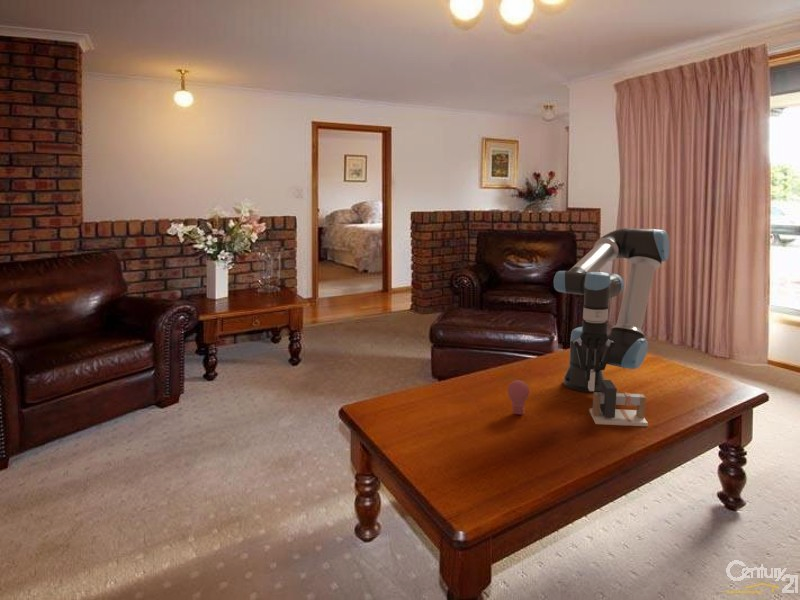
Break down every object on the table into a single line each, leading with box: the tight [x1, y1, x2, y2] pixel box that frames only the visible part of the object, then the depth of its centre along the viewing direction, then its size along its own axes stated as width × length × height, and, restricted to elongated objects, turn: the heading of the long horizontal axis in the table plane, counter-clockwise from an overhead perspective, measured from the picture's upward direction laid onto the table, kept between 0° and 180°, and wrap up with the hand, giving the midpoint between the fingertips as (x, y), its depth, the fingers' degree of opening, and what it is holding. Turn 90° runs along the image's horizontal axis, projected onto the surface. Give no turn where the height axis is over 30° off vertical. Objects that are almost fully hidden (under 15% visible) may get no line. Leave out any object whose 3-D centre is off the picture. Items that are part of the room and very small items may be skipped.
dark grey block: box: [600, 379, 618, 418], centre depth 174 cm, size 3×8×10 cm, turn 172°
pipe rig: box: [589, 391, 649, 427], centre depth 174 cm, size 16×10×9 cm, turn 82°
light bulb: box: [507, 379, 530, 415], centre depth 179 cm, size 7×7×12 cm
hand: (591, 389), depth 174 cm, fingers closed
